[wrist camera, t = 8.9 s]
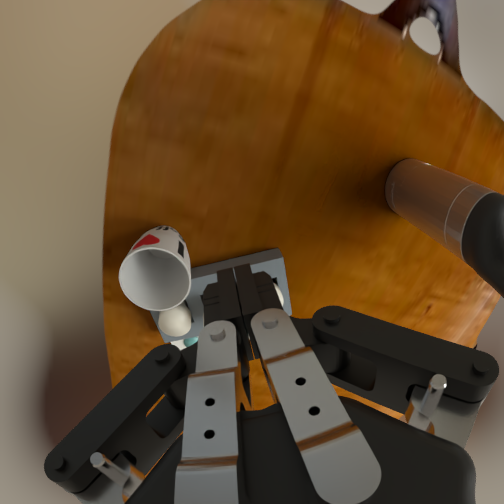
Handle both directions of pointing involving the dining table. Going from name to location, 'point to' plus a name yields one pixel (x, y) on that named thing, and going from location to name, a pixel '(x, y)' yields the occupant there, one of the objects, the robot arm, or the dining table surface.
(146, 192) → the dining table surface
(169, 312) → the button
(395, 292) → the dining table surface
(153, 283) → the cup
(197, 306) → the board
